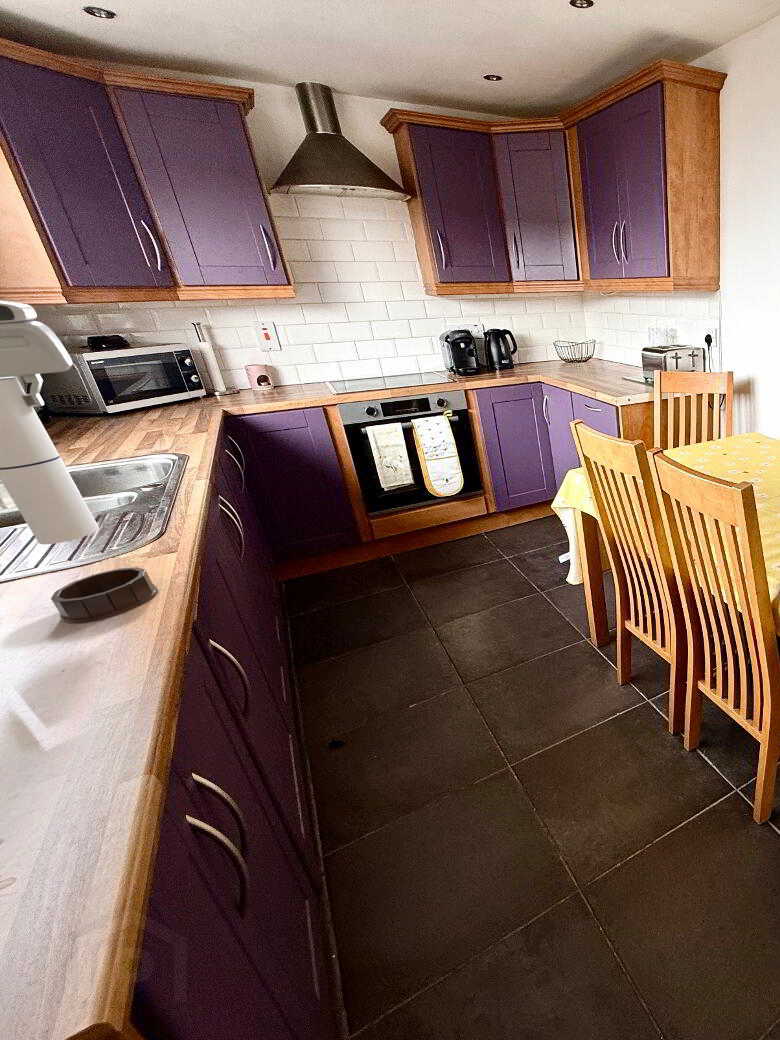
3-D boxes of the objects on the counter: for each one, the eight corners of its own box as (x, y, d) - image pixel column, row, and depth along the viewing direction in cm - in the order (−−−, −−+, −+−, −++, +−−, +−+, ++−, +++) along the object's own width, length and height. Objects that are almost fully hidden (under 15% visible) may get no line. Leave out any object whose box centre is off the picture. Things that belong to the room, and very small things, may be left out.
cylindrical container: (45, 547, 92) (-52, 386, 81) (33, 539, 95) (-62, 384, 84) (105, 530, 97) (21, 378, 86) (91, 523, 101) (10, 375, 90)
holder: (53, 632, 94) (39, 610, 92) (70, 602, 103) (58, 582, 101) (154, 605, 100) (142, 584, 99) (161, 579, 110) (151, 559, 108)
